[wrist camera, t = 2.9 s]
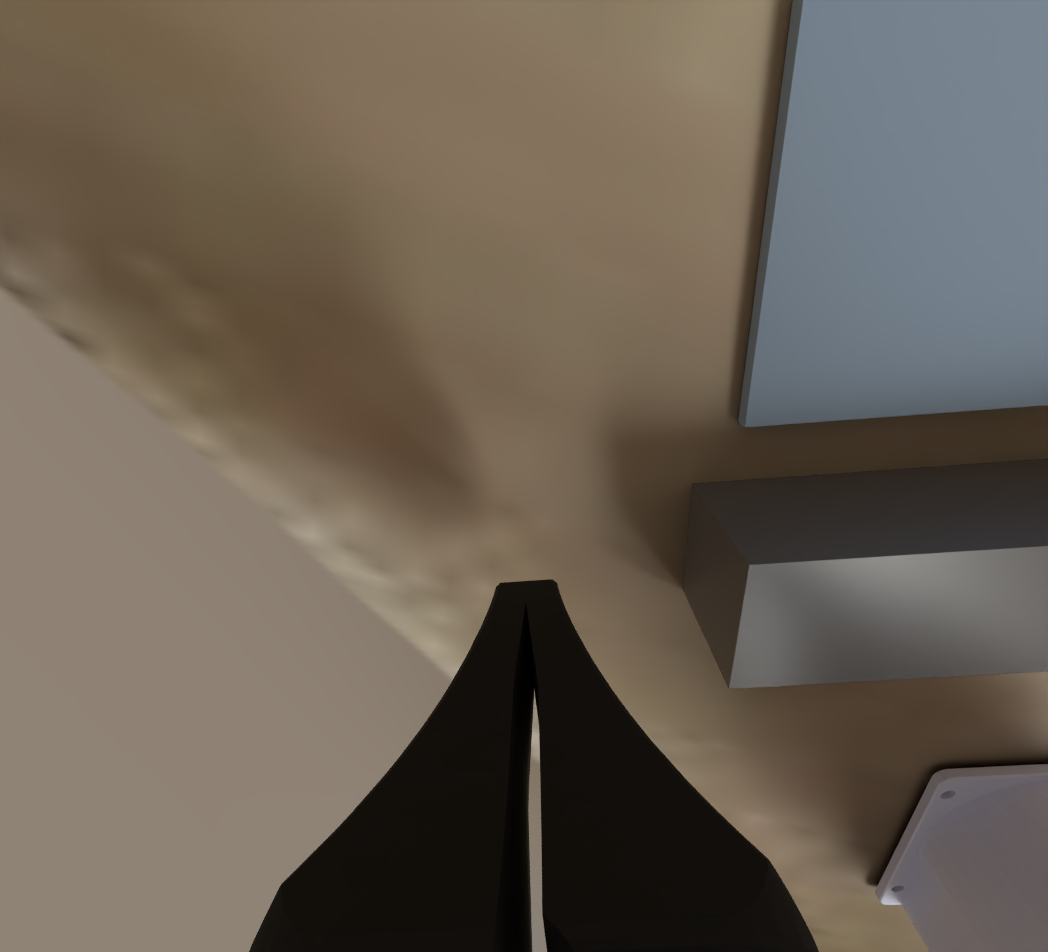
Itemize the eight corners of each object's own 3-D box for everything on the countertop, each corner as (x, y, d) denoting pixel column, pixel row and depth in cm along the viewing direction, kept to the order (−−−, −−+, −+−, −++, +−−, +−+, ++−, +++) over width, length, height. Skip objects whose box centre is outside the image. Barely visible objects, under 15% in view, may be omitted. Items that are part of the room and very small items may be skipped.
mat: (1150, 391, 12) (1170, 396, 11) (738, 422, 12) (744, 427, 12) (1388, -66, 8) (1429, -80, 8) (793, -6, 8) (805, -16, 8)
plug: (1197, 556, 14) (1403, 651, 11) (682, 588, 14) (728, 688, 11) (1274, 442, 12) (1544, 514, 9) (691, 483, 13) (749, 565, 9)
